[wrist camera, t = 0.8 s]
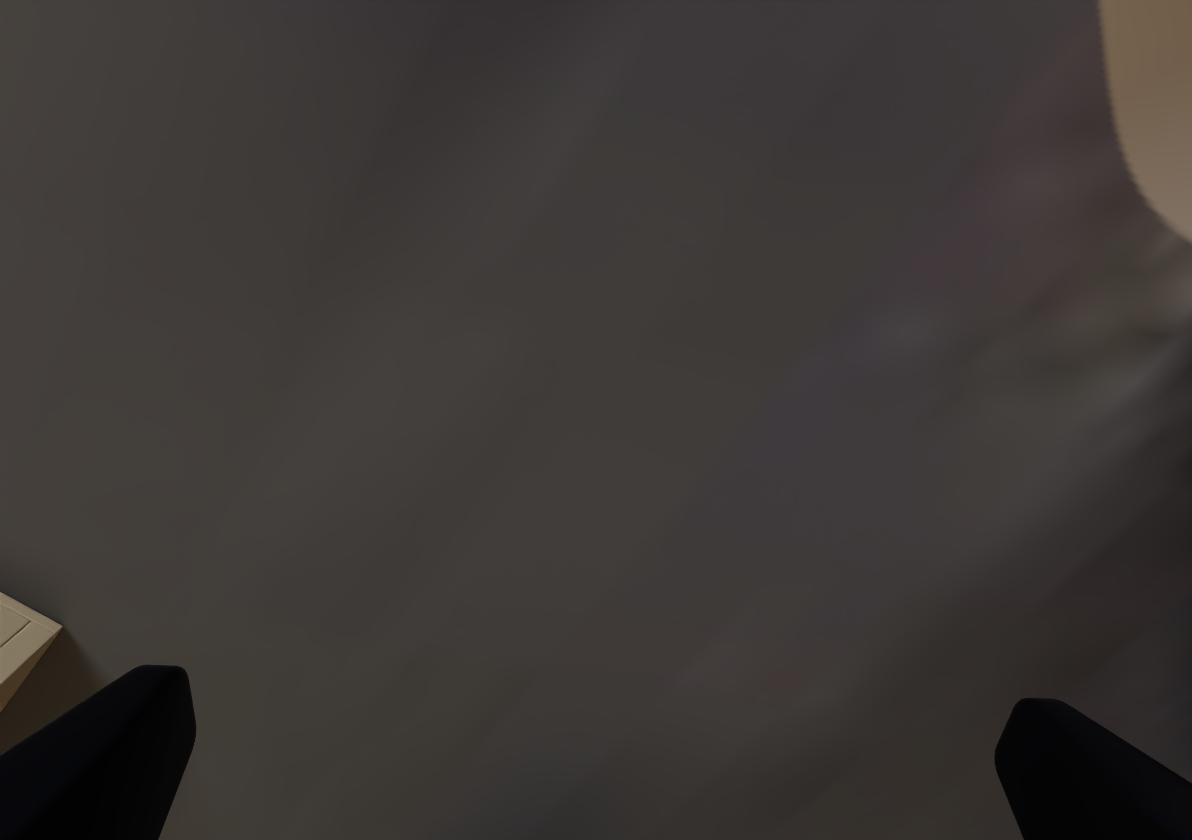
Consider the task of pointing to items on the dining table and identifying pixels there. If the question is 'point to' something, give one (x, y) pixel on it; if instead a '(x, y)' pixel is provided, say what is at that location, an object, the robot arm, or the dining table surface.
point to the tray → (21, 643)
